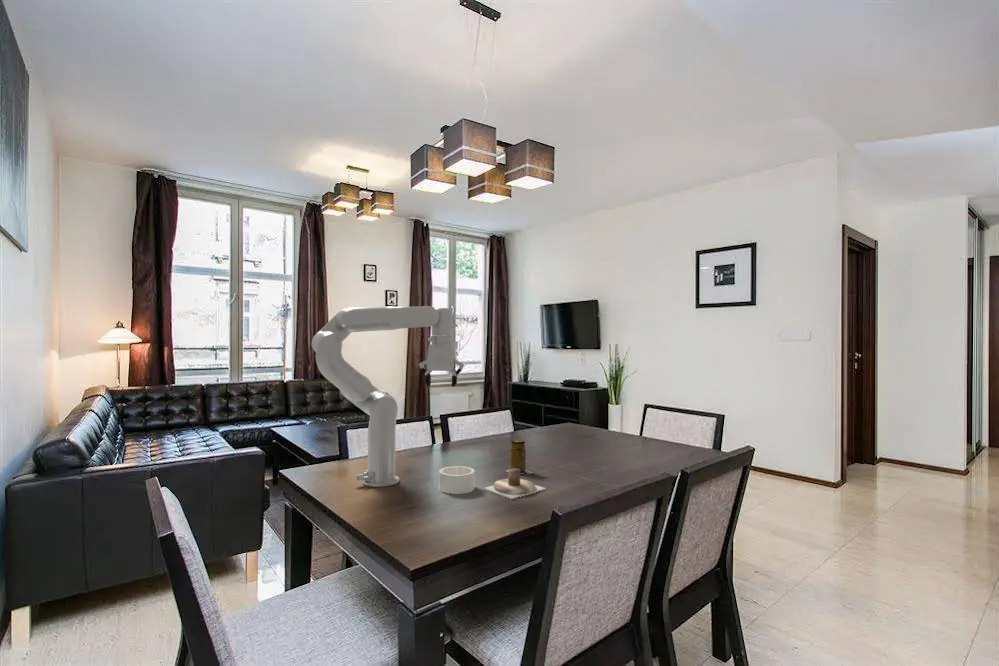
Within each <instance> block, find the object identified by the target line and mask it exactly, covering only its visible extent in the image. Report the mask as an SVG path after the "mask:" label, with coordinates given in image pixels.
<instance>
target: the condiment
mask: <svg viewBox="0 0 999 666" xmlns="http://www.w3.org/2000/svg"><path fill="white" fill-rule="evenodd" d="M525 443H526V442H525V440H523V439H512V440H511V442H510V447H509V448H510V449H509V469H511V468H517V469H520V473H524V472H525V470H526V456H527V453H526V447H525V446H526V445H525ZM509 469H507V470H505V472H507V473H509ZM526 471H527V472H528V473H527V474H526V475H529V474H533V473H534V472H533V471H529V470H526ZM529 472H530V473H529ZM525 473H526V472H525Z"/></svg>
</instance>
